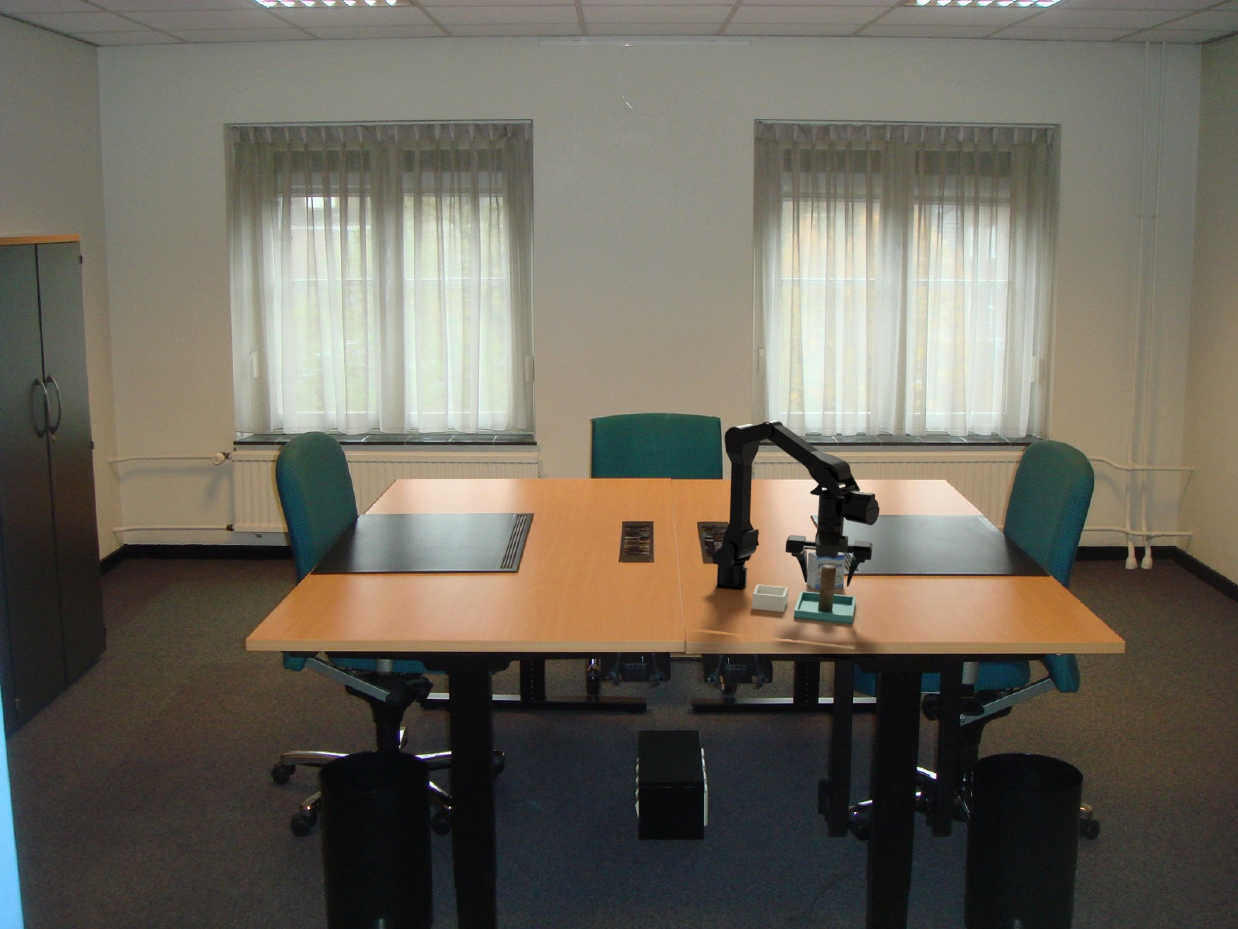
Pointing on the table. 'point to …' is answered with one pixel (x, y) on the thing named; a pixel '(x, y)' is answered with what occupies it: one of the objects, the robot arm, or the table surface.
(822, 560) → the medicine box
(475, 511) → the table surface
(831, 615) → the tray
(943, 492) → the table surface
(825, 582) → the dowel
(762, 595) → the white square box
